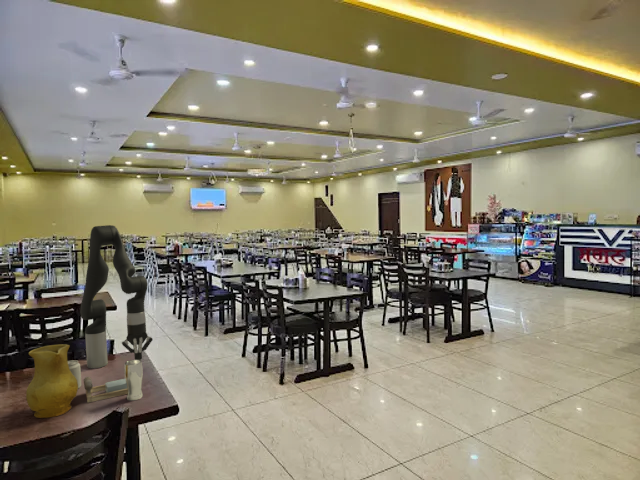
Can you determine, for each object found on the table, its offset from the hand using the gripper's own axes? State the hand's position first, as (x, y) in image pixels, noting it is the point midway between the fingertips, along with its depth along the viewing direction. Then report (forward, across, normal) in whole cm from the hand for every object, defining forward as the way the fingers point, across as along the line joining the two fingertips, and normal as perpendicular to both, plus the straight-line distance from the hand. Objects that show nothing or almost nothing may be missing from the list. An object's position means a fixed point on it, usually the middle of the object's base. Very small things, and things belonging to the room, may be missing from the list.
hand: (138, 360), depth 187 cm
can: (+12, +26, -14) cm, 32 cm away
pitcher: (+12, +32, +4) cm, 34 cm away
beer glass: (+12, +4, +11) cm, 16 cm away
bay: (+12, +12, 0) cm, 17 cm away
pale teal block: (+12, +9, 0) cm, 15 cm away
